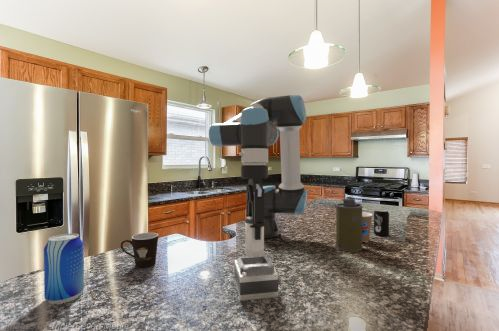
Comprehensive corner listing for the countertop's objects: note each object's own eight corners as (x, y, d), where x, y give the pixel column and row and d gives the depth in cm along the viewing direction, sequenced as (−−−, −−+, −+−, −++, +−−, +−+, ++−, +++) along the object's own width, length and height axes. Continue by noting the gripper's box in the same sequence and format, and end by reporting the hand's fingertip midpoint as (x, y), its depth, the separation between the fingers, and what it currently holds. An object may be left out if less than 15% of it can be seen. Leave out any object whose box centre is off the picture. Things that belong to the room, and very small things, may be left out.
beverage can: (390, 237, 124) (390, 211, 124) (375, 236, 125) (375, 211, 125) (386, 233, 130) (386, 208, 130) (372, 232, 132) (372, 208, 131)
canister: (349, 253, 102) (350, 201, 102) (330, 245, 112) (330, 198, 111) (369, 249, 107) (369, 199, 107) (348, 242, 117) (348, 196, 116)
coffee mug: (163, 261, 94) (163, 233, 94) (147, 271, 86) (146, 240, 86) (137, 258, 98) (137, 231, 98) (118, 266, 90) (118, 237, 90)
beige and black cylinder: (243, 251, 77) (243, 216, 77) (261, 250, 78) (261, 215, 78) (246, 257, 72) (246, 220, 71) (266, 256, 72) (266, 219, 72)
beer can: (58, 290, 74) (57, 232, 74) (89, 289, 74) (89, 232, 74) (36, 307, 65) (35, 242, 65) (72, 305, 66) (71, 241, 66)
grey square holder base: (234, 279, 80) (234, 255, 80) (267, 277, 82) (267, 253, 82) (240, 300, 68) (240, 271, 68) (278, 296, 70) (278, 268, 70)
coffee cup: (347, 242, 116) (347, 214, 116) (348, 236, 126) (348, 210, 126) (373, 245, 112) (373, 216, 112) (372, 238, 122) (372, 212, 122)
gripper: (236, 164, 83) (236, 238, 83) (246, 164, 65) (246, 260, 65) (260, 164, 84) (260, 237, 84) (276, 164, 66) (276, 258, 66)
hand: (254, 247), depth 75 cm, fingers closed on beige and black cylinder, 5 cm apart
